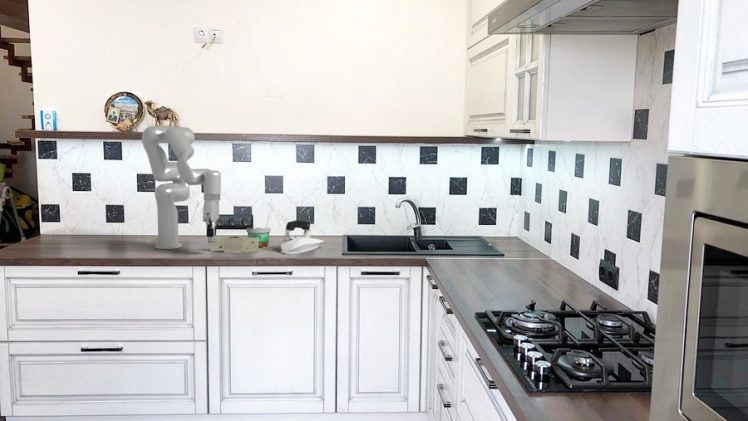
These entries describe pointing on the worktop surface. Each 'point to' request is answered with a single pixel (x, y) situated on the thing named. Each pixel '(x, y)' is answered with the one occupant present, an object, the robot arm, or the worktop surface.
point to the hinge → (235, 244)
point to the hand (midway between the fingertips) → (211, 235)
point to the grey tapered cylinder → (212, 239)
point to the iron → (298, 239)
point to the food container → (259, 235)
